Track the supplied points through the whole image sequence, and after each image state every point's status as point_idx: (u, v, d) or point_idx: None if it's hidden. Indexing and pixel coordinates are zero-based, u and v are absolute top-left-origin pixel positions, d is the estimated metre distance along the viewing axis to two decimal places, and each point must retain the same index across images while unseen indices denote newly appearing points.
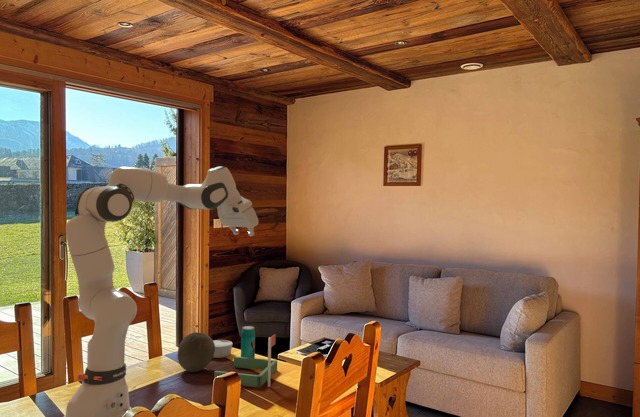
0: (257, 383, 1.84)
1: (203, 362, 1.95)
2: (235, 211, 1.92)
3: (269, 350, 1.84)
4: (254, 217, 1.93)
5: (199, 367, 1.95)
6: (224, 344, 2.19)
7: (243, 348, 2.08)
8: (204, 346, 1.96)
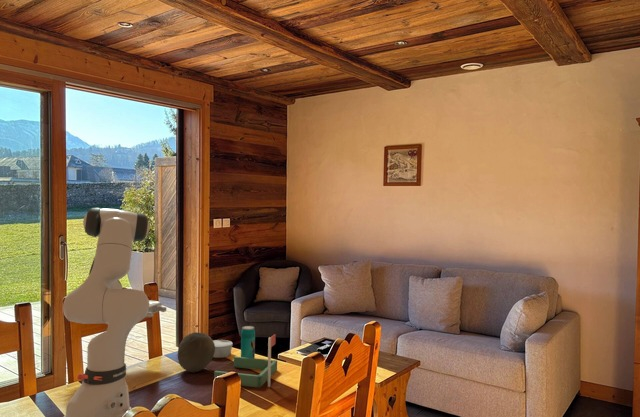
0: (257, 383, 1.84)
1: (203, 361, 1.95)
2: None
3: (269, 350, 1.84)
4: None
5: (199, 367, 1.95)
6: (224, 344, 2.19)
7: (243, 348, 2.08)
8: (204, 346, 1.96)
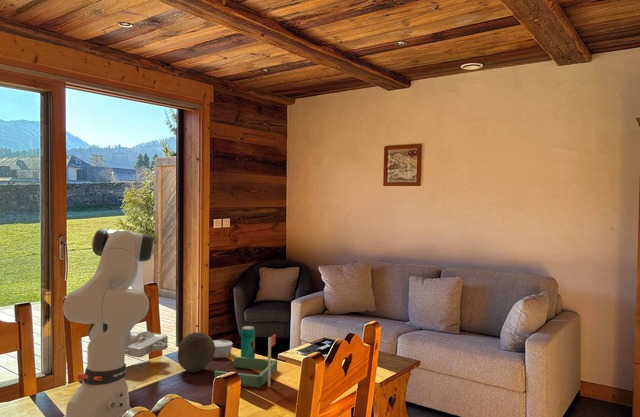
0: (257, 383, 1.84)
1: (203, 361, 1.95)
2: (145, 332, 2.11)
3: (269, 350, 1.84)
4: None
5: (199, 367, 1.95)
6: (224, 344, 2.19)
7: (243, 348, 2.08)
8: (204, 345, 1.96)
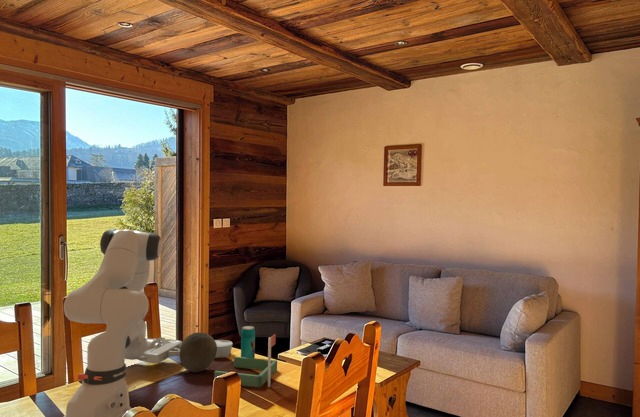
0: (257, 383, 1.84)
1: (204, 362, 1.95)
2: (160, 338, 2.09)
3: (269, 350, 1.84)
4: None
5: (201, 367, 1.95)
6: (224, 344, 2.19)
7: (243, 348, 2.08)
8: (206, 346, 1.95)
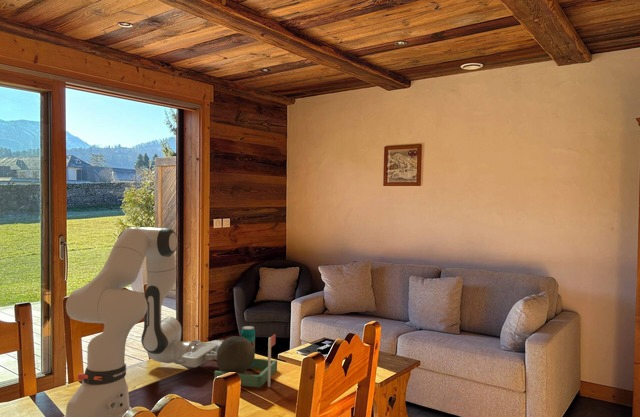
0: (257, 383, 1.84)
1: (241, 366, 1.90)
2: (195, 341, 2.06)
3: (269, 350, 1.84)
4: None
5: (237, 372, 1.90)
6: None
7: None
8: (243, 350, 1.91)
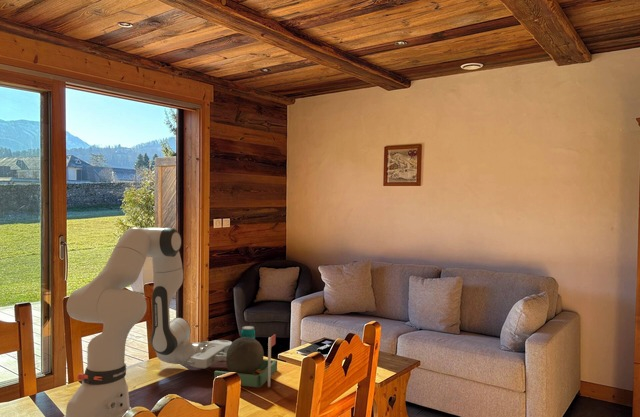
0: (257, 383, 1.84)
1: (251, 368, 1.89)
2: (204, 342, 2.05)
3: (269, 350, 1.84)
4: None
5: (247, 373, 1.89)
6: (224, 344, 2.19)
7: None
8: (253, 351, 1.90)
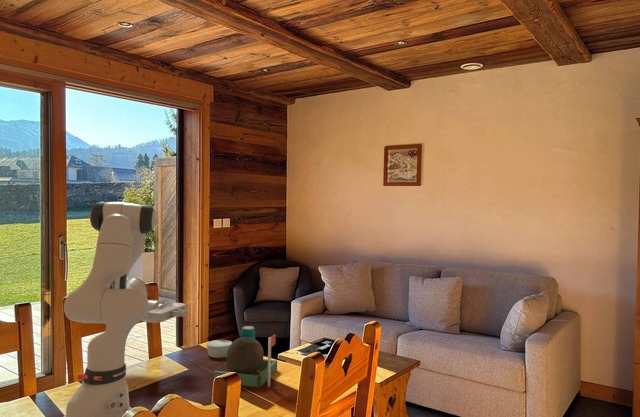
0: (257, 383, 1.84)
1: (251, 368, 1.89)
2: (164, 301, 2.09)
3: (269, 350, 1.84)
4: None
5: (247, 373, 1.89)
6: (224, 344, 2.19)
7: None
8: (253, 351, 1.90)
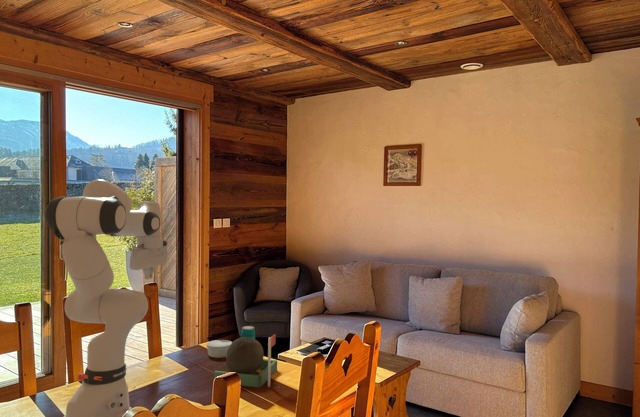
0: (257, 383, 1.84)
1: (251, 368, 1.89)
2: (164, 245, 1.99)
3: (269, 350, 1.84)
4: None
5: (247, 373, 1.89)
6: (224, 344, 2.19)
7: None
8: (253, 351, 1.90)
